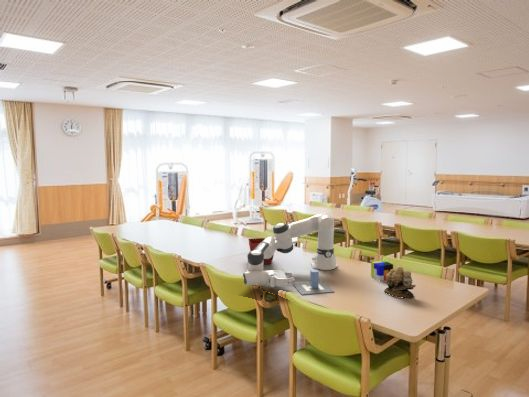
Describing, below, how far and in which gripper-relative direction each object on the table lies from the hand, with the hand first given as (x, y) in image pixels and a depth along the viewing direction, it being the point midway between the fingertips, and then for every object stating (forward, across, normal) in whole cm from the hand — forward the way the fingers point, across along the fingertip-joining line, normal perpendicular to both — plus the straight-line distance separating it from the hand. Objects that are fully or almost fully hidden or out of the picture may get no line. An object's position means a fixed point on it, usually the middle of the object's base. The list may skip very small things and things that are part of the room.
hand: (292, 276), depth 236 cm
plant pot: (-13, -63, -8) cm, 65 cm away
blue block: (+13, 0, -7) cm, 15 cm away
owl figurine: (+59, +17, -8) cm, 62 cm away
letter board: (+12, 0, -8) cm, 14 cm away
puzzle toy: (+61, -13, -8) cm, 63 cm away
